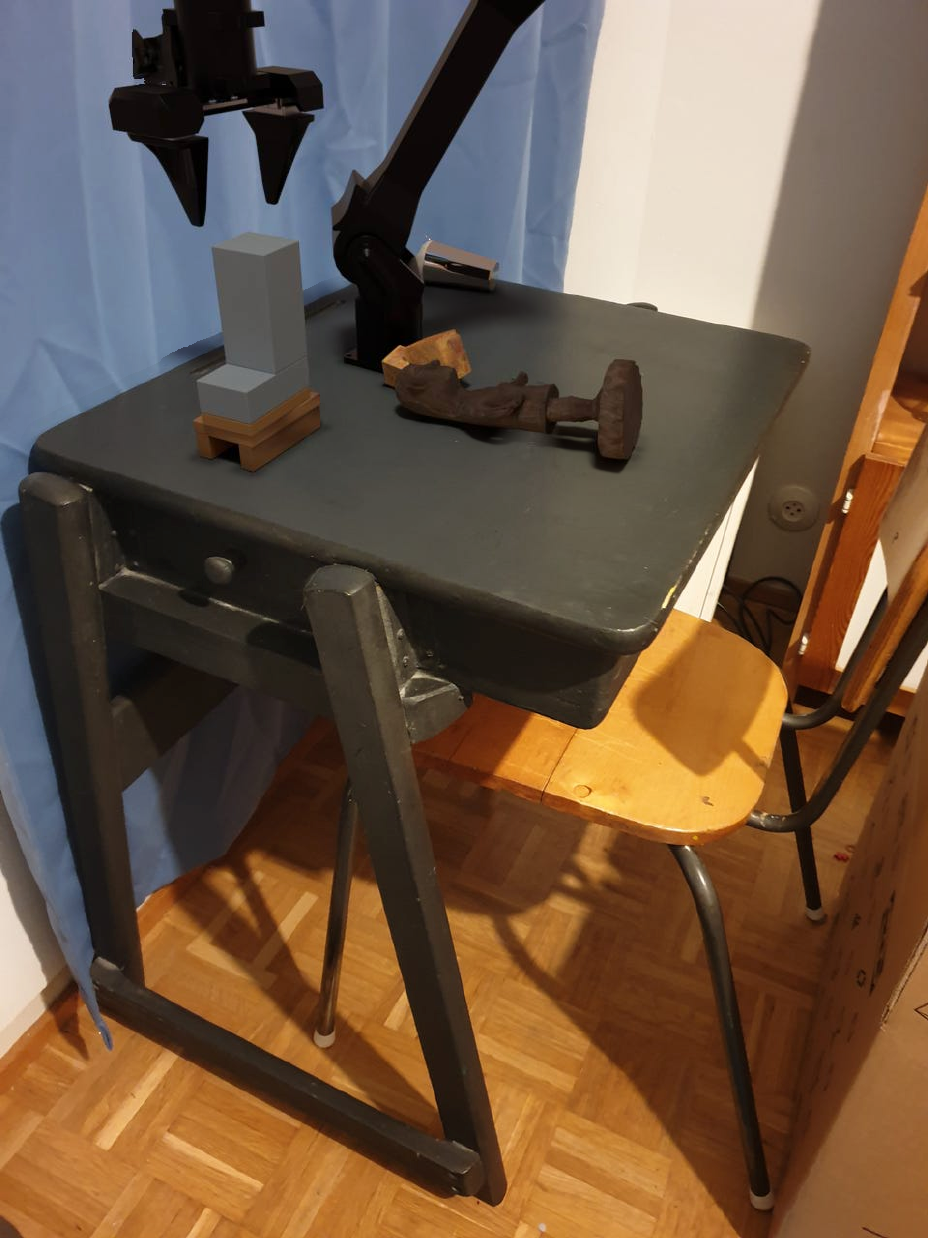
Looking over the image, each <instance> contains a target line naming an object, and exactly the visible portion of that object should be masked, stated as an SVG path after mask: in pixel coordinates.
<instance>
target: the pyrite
mask: <svg viewBox="0 0 928 1238" xmlns="http://www.w3.org/2000/svg"><path fill="white" fill-rule="evenodd" d="M437 359H438V360H440V364H441V366H450V367H452V368H455V369H456V371H457V374H458V378H459V380H460V379H461V378H463V377H466V376H467V375H468V374H470V373H472V372H473V371H472V368H471V365H470V362H469V359H468V356H467V353H466V350H465V347H464V344H463V341H462V338H461V334H460V333H457V332H456V329H455V328H454V329H449V330H446V331H443V332H440V333H437V334H434V335H432V336H428V337H425V338H423V340H420V341H418V342H416V343H414V344H411V345H410V346H407V347H404V346H401V345H399V346H398V347H397V348H396V349H394V350H393V351H392V352H391V353H390V354H389V355H388V356H387V357H385V358H384V359H383V360H382V367H383V371H382V372H383V376H384V382H385V384H386V385H388V386H390V387H394V388H395V379H396V377H397V375H398V373H399V371H401V370H402V369H403V368H404V367H405V366H407V365H411V364H416V365H425V364H428V363H430V362H431V361H433V360H437Z"/></svg>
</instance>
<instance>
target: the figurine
mask: <svg viewBox="0 0 928 1238" xmlns="http://www.w3.org/2000/svg"><path fill="white" fill-rule="evenodd" d="M528 383H529V375H528V373H526V372H525V371H519V373H518V375H517V377H516V378H515V379H514V380H513V381H510V382H508V381H501V382H499V384H497V385H493V386H486V387H483V388H481V387H480V388H475V389H472V390H468V389H466V388H464V387H463V386H462V385H461V382H460V379H459V378H458V374H457V371H456V369H455V368H452V367H450V366H441V364H440V360H438V359H437V360H433V361H431V362H430V363H428V364H425V365H416V364H411V365H407V366H405V367H404V368H403V369H402V370H401V371H399V373H398V375H397V377H396V379H395V387H394V393H395V396H396V399H397V400H398V401H399V403H400V404H401V405H402V406H403V407H404V408H406V409H407V410H409V411H411V412H413V413H416V414H418V415H423V416H427V417H431V418H437V419H443V420H448V421H454V422H460V423H466V424H471V425H472V424H473V425H477V426H478V425H479V426H486V427H494V428H495V427H496V428H504V429H509V430H519V431H524V432H532V433H540V434H544V435H552V434H554V431H555V428H556V425H557V423H562V422H569V423H584V422H589V421H594V422H596V423H598V432H597V445H598V450H599V454H600V455H601V456H602V458H609V459H617V460H630V456H632V454H633V448H634V447H635V446H636V443H637V441H638V439H639V434H640V431H641V427H642V420H643V406H644V401H643V396H644V395H643V394H644V391H643V386H642V374H641V373H640V366H639V365H638V364H637V362H636V360H633V359H623V358H615V359H613V360H612V362H611V363H610V364H608V367H607V370H606V372H605V375H604V378H603V381H602V386H601V388H600V390H599V391H598V393H597V394H596V396H595V397H594V398H592V399H590V398H583V397H579V396H574V395H569V396H563V397H560V390H559V388H558V387H557V385H556V384H555V383H549V384H548V383H547V384H541V385H533V384H532V385H531V384H528Z"/></svg>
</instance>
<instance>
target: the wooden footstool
mask: <svg viewBox="0 0 928 1238" xmlns="http://www.w3.org/2000/svg"><path fill="white" fill-rule="evenodd" d="M310 396H311V397H310V398H309V399H308V400H306V401H305V402H303V403H302V404H300V405H299V406H297V407H296V408H294V409H293V410H291V411H290V412H288V413H287V414H285V415H284V416H282V417H281V418H279V419H278V420H276V421H275V422H273V423H272V424H270V425H269V426H267V427H266V428H264V429H263V430H261V431H260V432H259V433H257V434H256V435H254V436H253V437H249V436H245V435H241V434H237V433H234V432H230V431H226V430H222V429H218V428H214V427H210V426H206V425H203V422H202V415H201V414H200V416H198V417H196V418H195V419H193V420H192V424H193V429H194V430H193V431H194V433H195V437H196V444H197V449H198V456H199V457H201V458H205V459H208V460H213V459H215V458H216V457H218V456H220V455H221V454H223V453H224V452H226V451H228V450H229V449H231V448H232V447H234V446H236V445H238V452H239V460H240V468H241V469H243V470H246V471H249V472H253V473H254V472H256V471H258V470H259V469H261V468H262V467H264V466H265V465H267V464H268V463H270V462H271V461H272V460H274V459H275V458H278V456H280V455H282V454H283V453H284V452H286V451H287V450H289V449H291V447H293V446H295V445H296V444H298V443H300V442H301V441H302V440H304V439H305V438H307V437H308V436H310V435H311V434H313V433H314V432H316V431H317V430H319V429H320V428H321V427H322V426H321V425H322V423H321V410H320V409H321V408H320V405H321V398H320V397H321V395H320V392H316V391H312V390H310Z"/></svg>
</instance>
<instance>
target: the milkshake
mask: <svg viewBox="0 0 928 1238" xmlns="http://www.w3.org/2000/svg"><path fill="white" fill-rule="evenodd" d="M416 230H417V231H418V232H419V233H421V235H423V236H425V237H426V238H427V239H428V241H426V242H424V244H422V246H420V250H419V252H418V253H417V254H416V255H415V256H416V259H417V262H418V266H419V269H420V272H421V275H422V279H423V282H424V283H427V284H437V285H438V284H439V285H445V286H451V287H457V288H458V287H459V288H464V289H473V290H478V291H479V290H480V291H485V292H493V290H494V289H495V288H496V285H497V283H498V279H499V273H500V263H499V261H498V260H497V259H493V258H489V257H486V256H483V255H480V254H476V253H473V252H470V251H468V250H467V251H466V250H463V249H460V248H456V247H454V246H451V245H448V244H444V243H441V242H440V241H439V242H438V241H435V240H433V239H431V238H430V237H429V236H427V235H426V234H425V233H423V232H422V231H421V230H419V228H416Z"/></svg>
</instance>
